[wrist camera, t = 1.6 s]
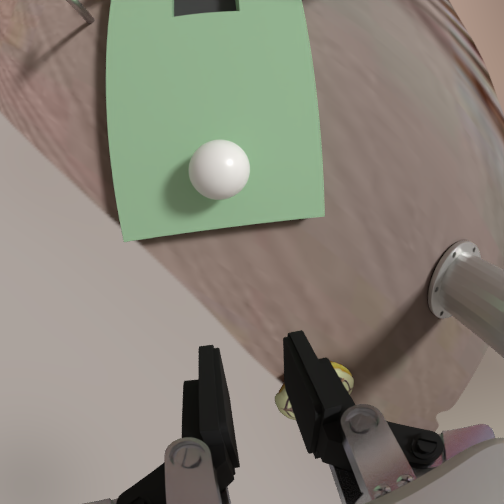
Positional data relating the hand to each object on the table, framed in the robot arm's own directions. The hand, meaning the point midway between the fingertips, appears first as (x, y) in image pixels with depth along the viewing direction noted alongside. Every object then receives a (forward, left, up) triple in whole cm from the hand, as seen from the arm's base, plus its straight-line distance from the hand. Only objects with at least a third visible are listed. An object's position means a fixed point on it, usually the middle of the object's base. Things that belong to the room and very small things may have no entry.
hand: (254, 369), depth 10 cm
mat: (0, -17, -17) cm, 24 cm away
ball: (0, -7, -13) cm, 14 cm away
